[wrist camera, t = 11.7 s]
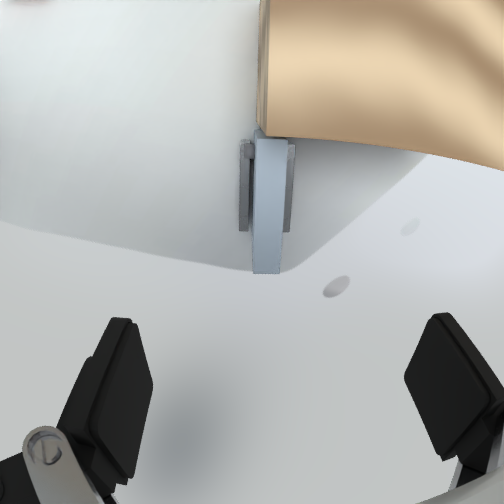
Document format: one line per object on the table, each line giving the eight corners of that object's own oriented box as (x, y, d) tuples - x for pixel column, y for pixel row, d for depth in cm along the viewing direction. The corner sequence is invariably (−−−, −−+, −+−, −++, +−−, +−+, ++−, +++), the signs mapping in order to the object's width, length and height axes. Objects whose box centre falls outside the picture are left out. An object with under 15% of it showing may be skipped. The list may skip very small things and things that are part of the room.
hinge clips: (285, 220, 31) (289, 232, 29) (239, 219, 31) (239, 231, 29) (290, 141, 28) (295, 145, 25) (241, 139, 28) (240, 143, 25)
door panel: (271, 229, 32) (279, 273, 24) (243, 228, 32) (242, 273, 24) (275, 130, 28) (287, 139, 19) (245, 129, 27) (244, 138, 19)
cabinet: (411, 137, 27) (522, 176, 13) (256, 121, 27) (266, 135, 13) (415, 31, 22) (523, 4, 8) (259, 4, 22) (271, -86, 7)
